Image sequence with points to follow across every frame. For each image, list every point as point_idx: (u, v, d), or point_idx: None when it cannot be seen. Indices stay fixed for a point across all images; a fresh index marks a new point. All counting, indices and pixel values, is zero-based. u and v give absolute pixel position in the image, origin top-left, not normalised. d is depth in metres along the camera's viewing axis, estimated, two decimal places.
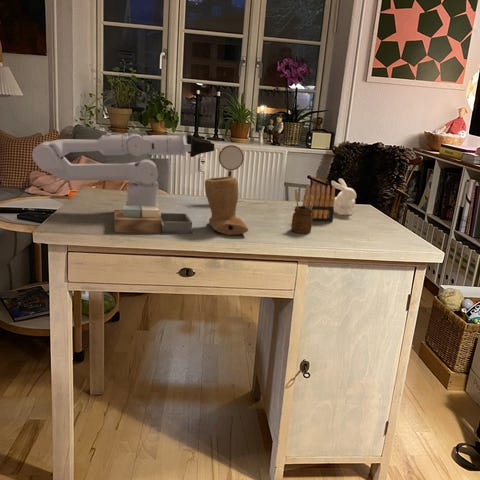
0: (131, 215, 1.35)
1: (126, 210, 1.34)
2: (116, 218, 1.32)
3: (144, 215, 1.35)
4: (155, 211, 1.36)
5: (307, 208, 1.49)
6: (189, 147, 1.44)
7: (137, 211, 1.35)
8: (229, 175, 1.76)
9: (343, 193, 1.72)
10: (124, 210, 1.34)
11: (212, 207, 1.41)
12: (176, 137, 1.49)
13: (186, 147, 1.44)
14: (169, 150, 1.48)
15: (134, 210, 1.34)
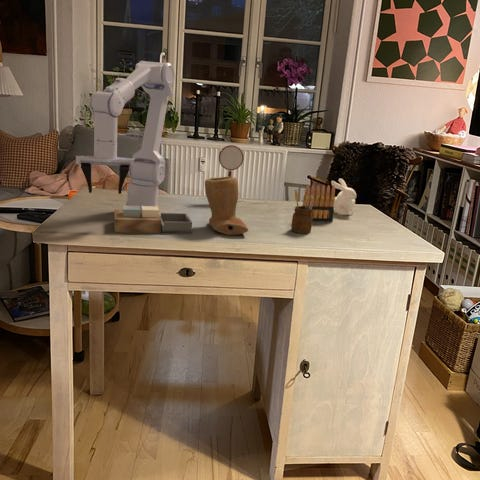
0: (131, 215, 1.35)
1: (126, 210, 1.34)
2: (116, 218, 1.32)
3: (144, 215, 1.35)
4: (155, 211, 1.36)
5: (307, 208, 1.49)
6: (76, 162, 1.29)
7: (137, 211, 1.35)
8: (229, 175, 1.76)
9: (343, 193, 1.72)
10: (124, 210, 1.34)
11: (212, 207, 1.41)
12: (100, 152, 1.28)
13: (76, 158, 1.29)
14: None
15: (134, 210, 1.34)
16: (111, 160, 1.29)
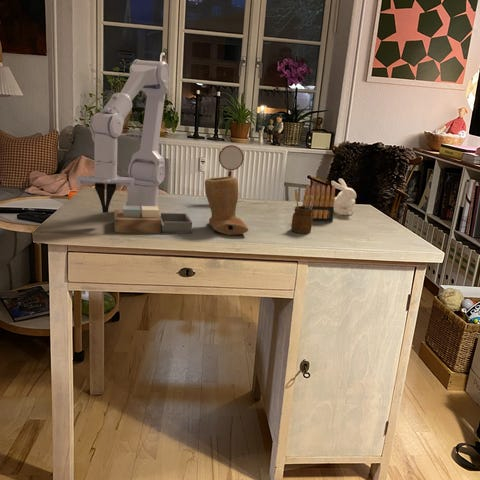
0: (131, 215, 1.35)
1: (126, 210, 1.34)
2: (116, 218, 1.32)
3: (144, 215, 1.35)
4: (155, 211, 1.36)
5: (307, 208, 1.49)
6: None
7: (137, 211, 1.35)
8: (229, 175, 1.76)
9: (343, 193, 1.72)
10: (124, 210, 1.34)
11: (212, 207, 1.41)
12: (100, 172, 1.29)
13: None
14: None
15: (134, 210, 1.34)
16: (111, 180, 1.30)
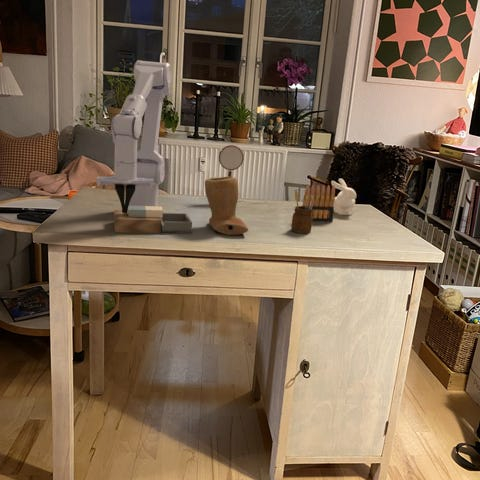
0: (137, 215, 1.35)
1: (132, 210, 1.34)
2: (116, 218, 1.32)
3: (148, 215, 1.36)
4: (159, 211, 1.36)
5: (307, 208, 1.49)
6: None
7: (143, 211, 1.35)
8: (229, 175, 1.76)
9: (343, 193, 1.72)
10: (130, 210, 1.34)
11: (212, 207, 1.41)
12: (120, 173, 1.30)
13: None
14: None
15: (140, 210, 1.35)
16: (131, 181, 1.31)
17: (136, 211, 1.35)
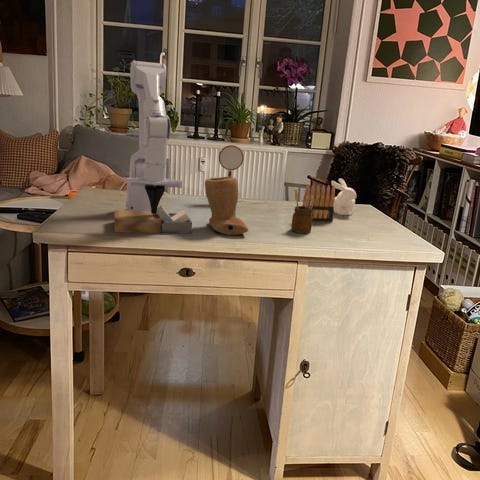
0: (163, 218, 1.37)
1: (164, 211, 1.36)
2: (116, 218, 1.32)
3: (184, 216, 1.38)
4: None
5: (307, 208, 1.49)
6: (127, 184, 1.34)
7: (170, 220, 1.37)
8: (229, 175, 1.76)
9: (343, 193, 1.72)
10: (162, 210, 1.36)
11: (212, 207, 1.41)
12: (150, 174, 1.32)
13: (127, 180, 1.34)
14: None
15: (168, 217, 1.37)
16: (161, 182, 1.33)
17: (166, 215, 1.37)
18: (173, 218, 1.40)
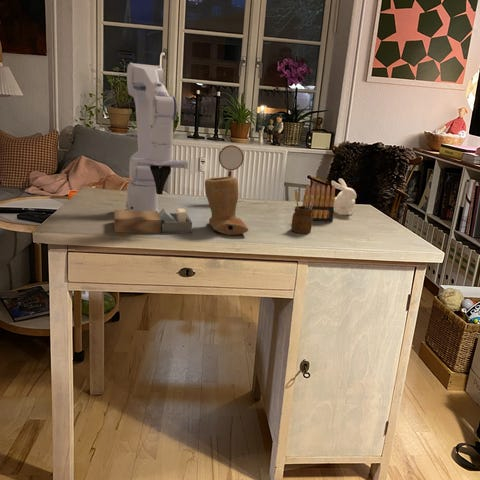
0: (166, 221, 1.37)
1: (166, 214, 1.37)
2: (116, 218, 1.32)
3: (180, 214, 1.38)
4: None
5: (307, 208, 1.49)
6: (132, 164, 1.33)
7: None
8: (229, 175, 1.76)
9: (343, 193, 1.72)
10: (165, 213, 1.36)
11: (212, 207, 1.41)
12: (156, 154, 1.32)
13: (132, 161, 1.33)
14: None
15: (172, 219, 1.38)
16: (167, 162, 1.33)
17: (169, 218, 1.37)
18: None
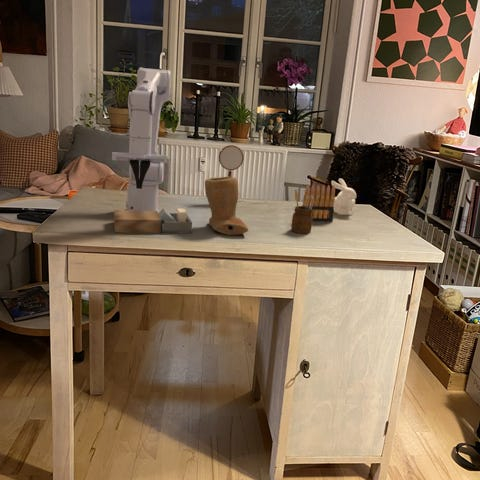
0: (166, 221, 1.37)
1: (166, 214, 1.37)
2: (116, 218, 1.32)
3: (180, 214, 1.38)
4: None
5: (307, 208, 1.49)
6: (112, 158, 1.34)
7: None
8: (229, 175, 1.76)
9: (343, 193, 1.72)
10: (165, 213, 1.36)
11: (212, 207, 1.41)
12: (135, 148, 1.32)
13: (112, 155, 1.33)
14: None
15: (172, 219, 1.38)
16: (146, 156, 1.33)
17: (169, 218, 1.37)
18: None
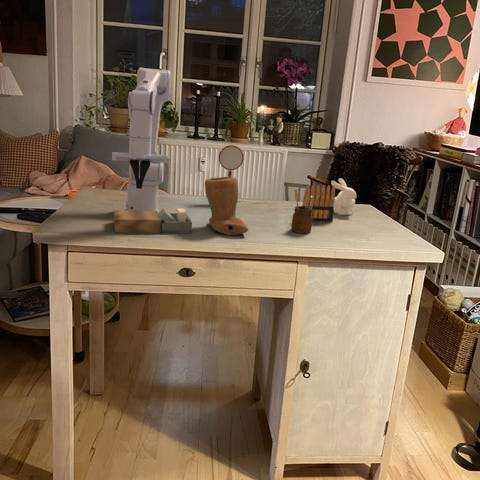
0: (166, 221, 1.37)
1: (166, 214, 1.37)
2: (116, 218, 1.32)
3: (180, 214, 1.38)
4: None
5: (307, 208, 1.49)
6: (112, 158, 1.34)
7: None
8: (229, 175, 1.76)
9: (343, 193, 1.72)
10: (165, 213, 1.36)
11: (212, 207, 1.41)
12: (135, 148, 1.32)
13: (112, 155, 1.33)
14: None
15: (172, 219, 1.38)
16: (146, 156, 1.33)
17: (169, 218, 1.37)
18: None
